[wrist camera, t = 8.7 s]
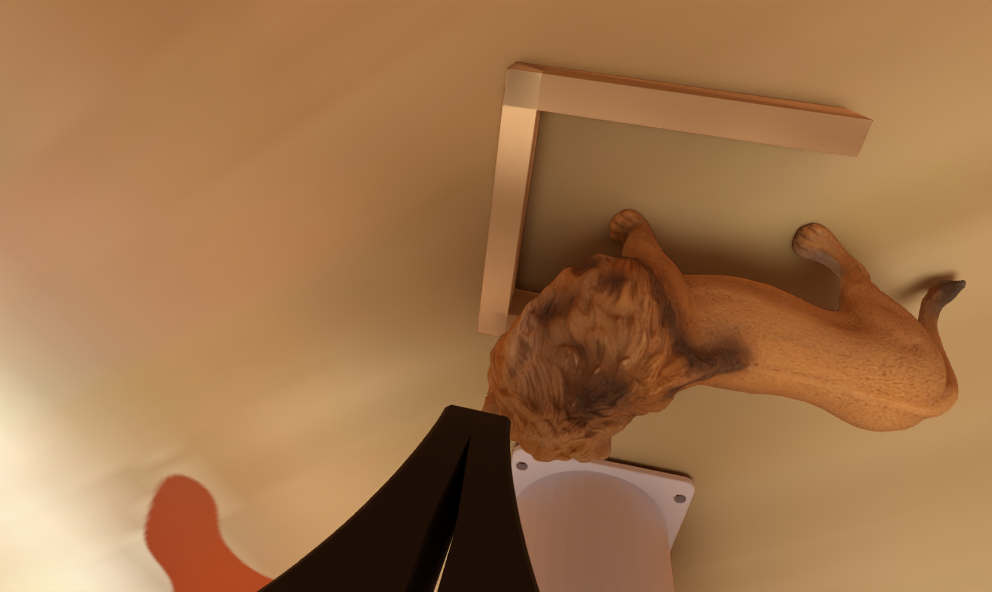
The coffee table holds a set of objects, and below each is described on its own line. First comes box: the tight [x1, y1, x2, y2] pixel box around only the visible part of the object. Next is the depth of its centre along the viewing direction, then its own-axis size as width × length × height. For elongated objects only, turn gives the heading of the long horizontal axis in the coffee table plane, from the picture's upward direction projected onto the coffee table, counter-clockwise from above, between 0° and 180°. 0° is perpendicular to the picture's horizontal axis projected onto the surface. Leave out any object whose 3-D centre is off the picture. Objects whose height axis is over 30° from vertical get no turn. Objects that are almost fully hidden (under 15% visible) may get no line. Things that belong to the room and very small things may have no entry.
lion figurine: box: [482, 209, 966, 463], centre depth 16 cm, size 15×5×9 cm, turn 95°
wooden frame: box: [477, 62, 873, 337], centre depth 18 cm, size 9×10×2 cm
